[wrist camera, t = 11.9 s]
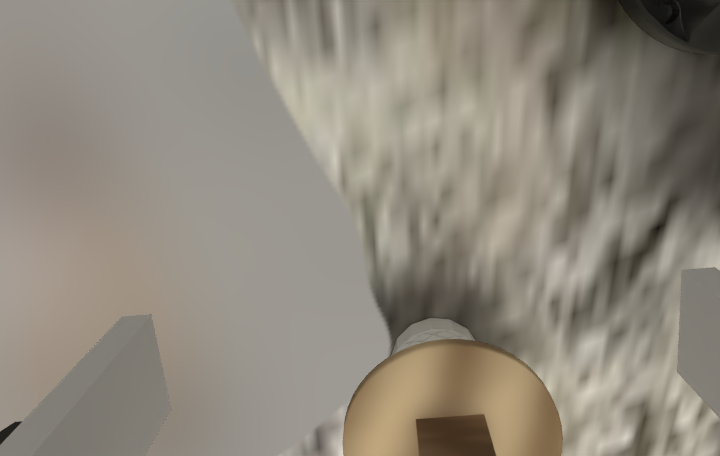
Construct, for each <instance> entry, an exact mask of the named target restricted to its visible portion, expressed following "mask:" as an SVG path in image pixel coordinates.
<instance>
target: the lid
mask: <svg viewBox="0 0 720 456" xmlns="http://www.w3.org/2000/svg"><path fill="white" fill-rule="evenodd" d="M562 442H563V436H562V425H561V421H560V417H559V413H558V411H557V409H556V406H555V404H554V402H553V400H552V398H551V396H550V393H549V392H548V390H547V388H546V387H545V385H544V383H543V382H542V381H541V379H540V378H539V377H538V376H537V375H536V373H535V372H534V371H533V370H532V369H531V368H530V367H528V366H527V365H526V364H525V363H524V362H523V361H521V360H520V359H518V358H517V357H515V356H514V355H512V354H510V353H508V352H506V351H504V350H502V349H500V348H498V347H495V346H492V345H489V344H487V343H482V342H477V341H473V340H464V339H441V340H434V341H428V342H424V343H420V344H416V345H413V346H411V347H408V348H406V349H403V350H401V351H399V352H397V353H395V354H393V355H392V356H390V357H388V358H387V359H385V360H384V361H383V362H381V363H380V364H378V365H377V366H376V367H375V368H374V369H373V370H372V371H371V372H370V373H369V374H368V375H367V376H366V377H365V379H364V380H363V381H362V382H361V383H360V385H359V386H358V388H357V390H356V391H355V393H354V395H353V396H352V399H351V401H350V403H349V406H348V409H347V413H346V417H345V422H344V433H343V454H344V456H561V453H562Z"/></svg>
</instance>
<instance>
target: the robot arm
mask: <svg viewBox="0 0 720 456" xmlns="http://www.w3.org/2000/svg"><path fill="white" fill-rule="evenodd" d="M619 1H620V3H621V4H622V6H623V8H624V9H625V11H626V12H627V13H628V15H629V16H630V17H631V19H632V20H633V21H634V22H635V23H636V24H637V25H638V26H639V27H640V28H641V29H642V30H644V31H645V32H646V33H647V34H649V35H650V36H652V37H653V38H655V39H656V40H658V41H660V42H662V43H663V44H666V45H668V46H670V47H673V48H676V49H679V50H683V51H687V52H692V53H700V54H720V0H619ZM677 372H678V373H679V374H680V376H681V377H682V378H683V379H684V380H685V381H686V382H687V383H688V384H689V385H690V386H691V388H692V389H693V390H694V391H695V392H696V393H697V394H698V395H699V396H700V397H701V398H702V399H703V401H704V402H705V403H706V404H707V405H708V406H709V407H710V408H711V409H712V410H713V411H714V413H715V414H716V415H717V416H718V417H719V418H720V271H719V270H718V269H716V268H715V267H714V268H702V269H690V270H682V278H681V299H680V321H679V343H678V364H677ZM170 411H171V405H170V401H169V396H168V391H167V386H166V382H165V377H164V372H163V368H162V363H161V359H160V354H159V349H158V344H157V340H156V335H155V330H154V325H153V321H152V316H151V314H149V315H137V316H125V317H121V318H120V319H119V320H118V321H117V322H116V323H115V324H114V326H113V327H112V328H111V329H110V330H109V331H108V332H107V333H106V334H105V335H104V336H103V337H102V338H101V339H100V340H99V342H97V344H96V345H95V346H94V347H93V348H92V349H91V350H90V351H89V352H88V353H87V354H86V355H85V356H84V357H83V358H82V359H81V360H80V361H79V362H78V363H77V365H76V366H75V367H74V368H73V369H72V370H71V371H70V372H69V373H68V374H67V375H66V376H65V377H64V378H63V379H62V380H61V382H59V384H58V385H57V386H56V387H55V388H54V389H53V390H52V391H51V392H50V393H49V394H48V395H47V396H46V397H45V398H44V399H43V400H42V401H41V402H40V404H39V405H38V406H37V407H36V408H35V409H34V410H33V411H32V412H31V413H30V414H29V415H28V416H27V417H26V418H25V419H24V421H22V422H15V423H13V424H11V425H10V426H8V427H7V428H5V429H4V430H2V431H1V432H0V456H145V455H146V453H147V452H148V450H149V448H150V446H151V445H152V443H153V441H154V439H155V437H156V436H157V434H158V432H159V431H160V429H161V427H162V425H163V424H164V422H165V420H166V418H167V416H168V415H169V413H170Z"/></svg>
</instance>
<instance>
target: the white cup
mask: <svg viewBox="0 0 720 456" xmlns="http://www.w3.org/2000/svg"><path fill="white" fill-rule="evenodd" d="M441 339H464V340H473V341H476V340H475V339H474V338H473V336H472V335H471V333H470V332H469V330H468V329H467V328H465V327H463V326H461V325H460V324H458V323H456V322H454V321H452V320H450V319H439V318H428V319H425V320H423V321H420V322H417V323H414V324H411V325H410V326H409V327H408V328H407V329H406V330H405V331H404V332H403V333H402V334H401V335H400V336H399V337H398V338H397V340H396V343H395V346H394V349H393V352H392V354H391V356H392V355H393V354H395V353H397V352H399V351H401V350H403V349H406V348H408V347H411V346H413V345H416V344H420V343H424V342H428V341H434V340H441Z"/></svg>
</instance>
